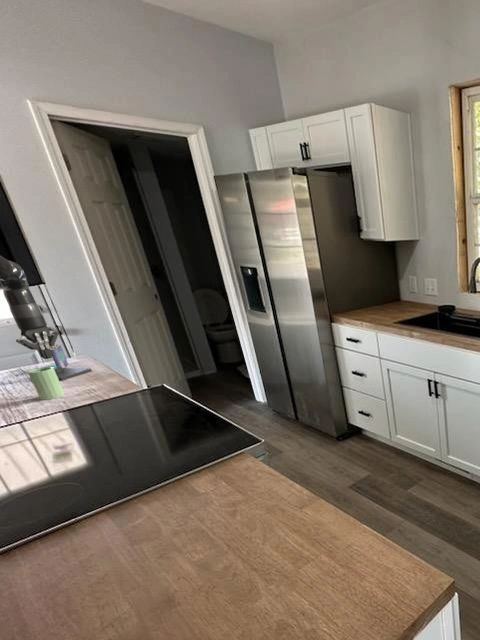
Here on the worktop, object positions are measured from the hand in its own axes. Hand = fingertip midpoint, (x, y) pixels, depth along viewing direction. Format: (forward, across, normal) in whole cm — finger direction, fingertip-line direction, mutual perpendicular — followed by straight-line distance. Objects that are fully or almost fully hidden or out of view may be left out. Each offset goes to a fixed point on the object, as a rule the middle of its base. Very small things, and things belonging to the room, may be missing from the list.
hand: (47, 358), depth 163 cm
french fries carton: (+8, -10, -9) cm, 15 cm away
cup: (+7, +20, +25) cm, 33 cm away
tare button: (+5, 0, 0) cm, 5 cm away
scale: (+7, 0, +4) cm, 8 cm away
